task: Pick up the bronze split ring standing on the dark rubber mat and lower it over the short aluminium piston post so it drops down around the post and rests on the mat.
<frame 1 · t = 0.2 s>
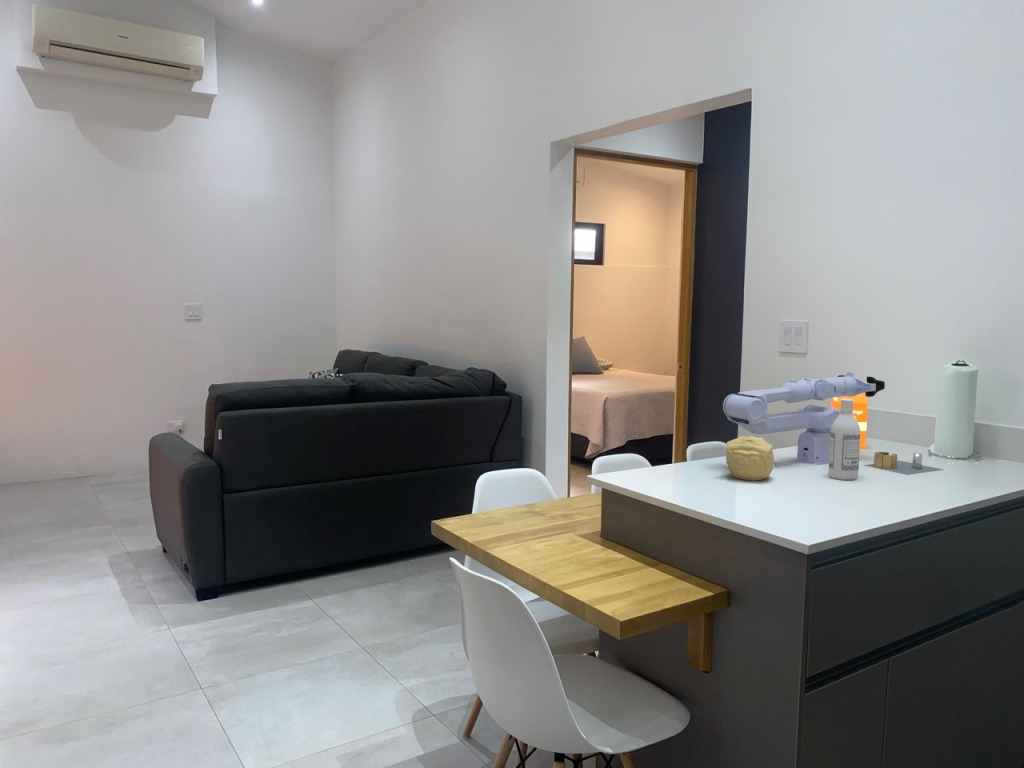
hand: (872, 384, 217), 21 cm above the worktop, tool horizontal, fingers open, 7 cm apart
mat: (903, 468, 202), on the worktop
bath foam: (842, 478, 191), on the worktop
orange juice: (846, 448, 233), on the worktop
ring: (885, 466, 202), resting on mat
piston post: (916, 469, 201), resting on mat
sculpture: (749, 478, 190), on the worktop
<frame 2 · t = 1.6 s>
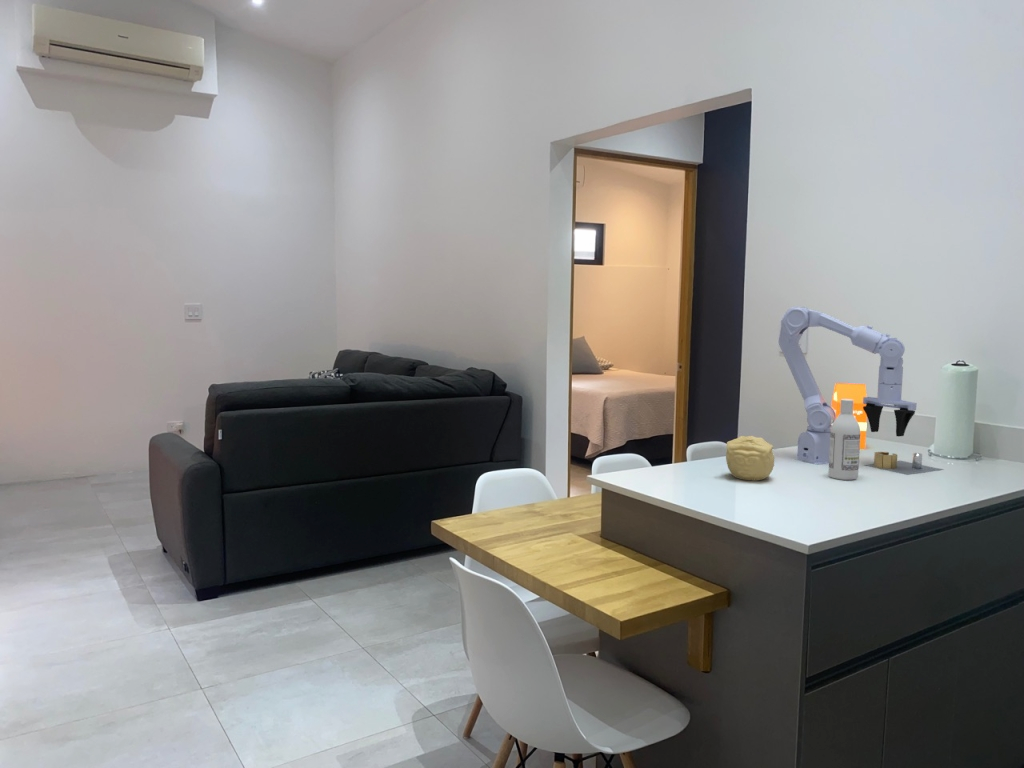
hand: (887, 433, 201), 9 cm above the worktop, tool pointing down, fingers open, 7 cm apart
nothing on the worktop moved.
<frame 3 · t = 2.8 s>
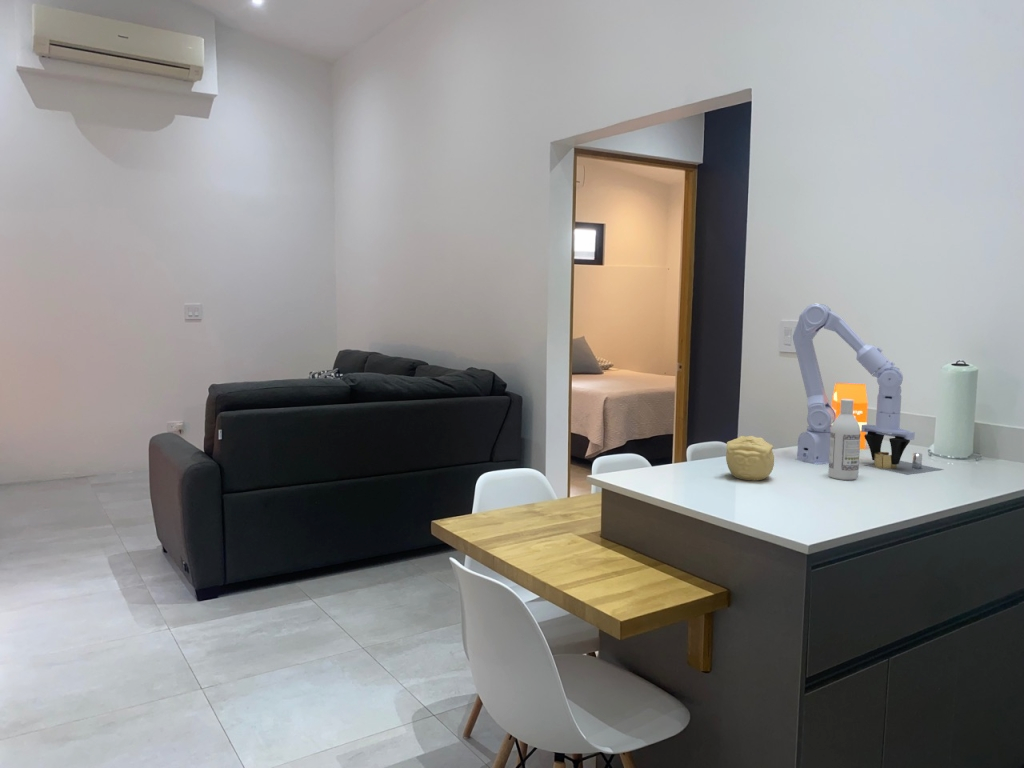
hand: (885, 462, 202), 2 cm above the worktop, tool pointing down, fingers closed on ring, 5 cm apart
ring: (885, 466, 202), resting on mat, touching gripper
everything else where it was.
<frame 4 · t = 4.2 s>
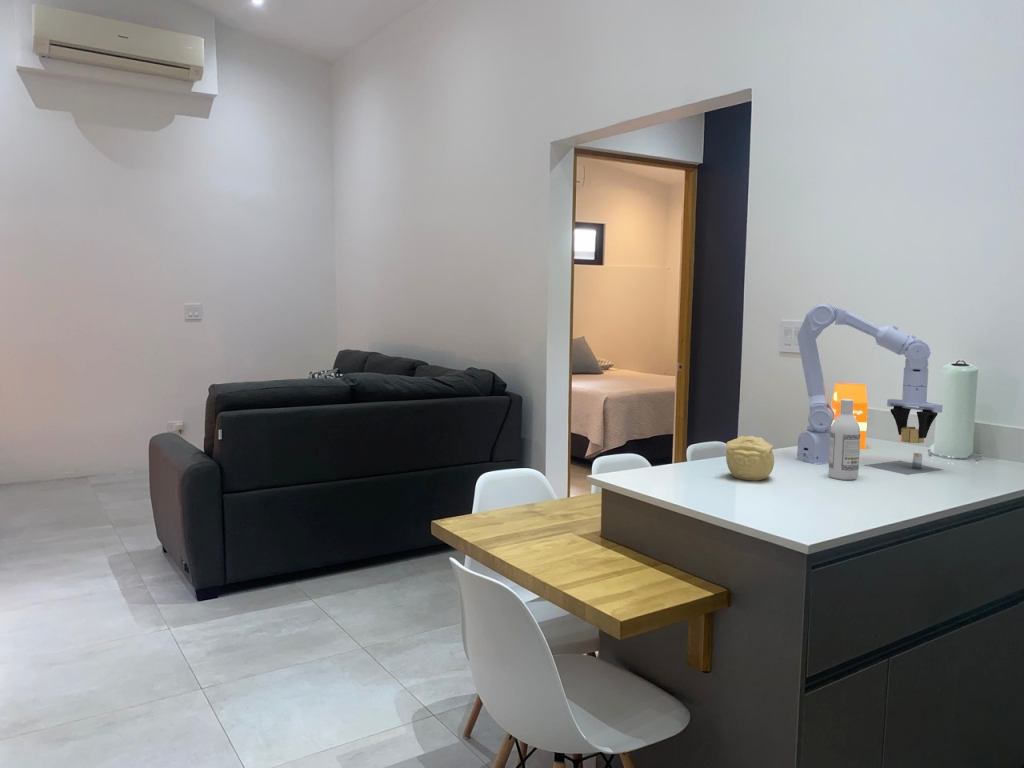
hand: (912, 436, 200), 9 cm above the worktop, tool pointing down, fingers closed on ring, 5 cm apart
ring: (912, 441, 200), point 8 cm above the worktop, touching gripper
everything else where it was.
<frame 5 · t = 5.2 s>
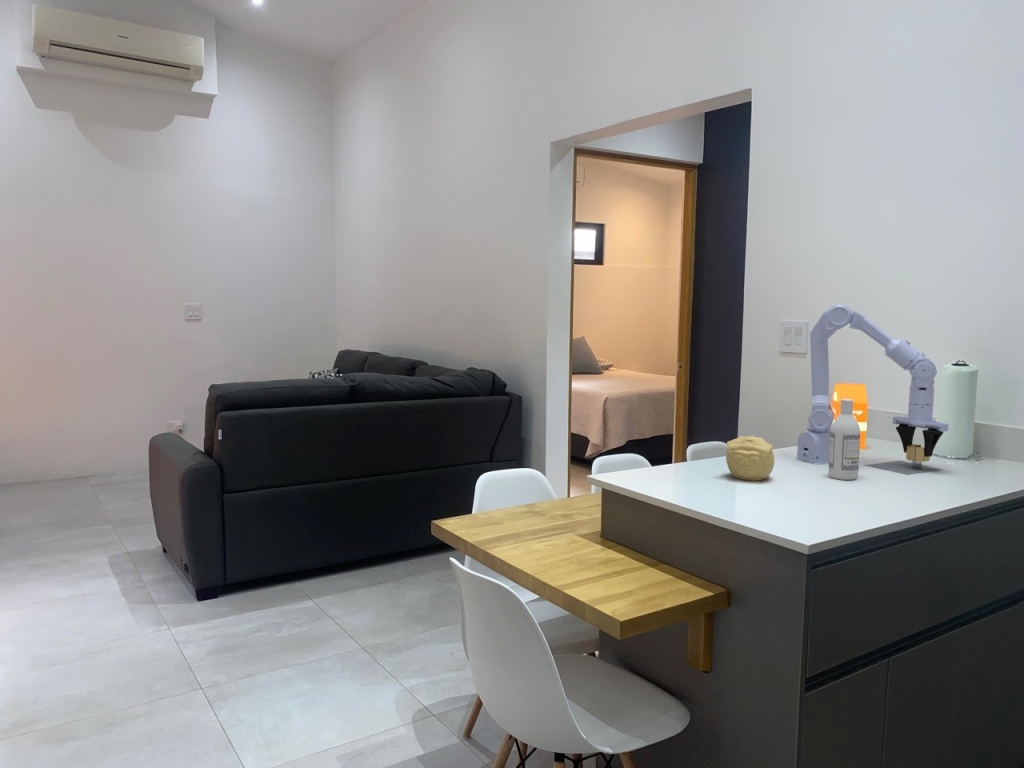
hand: (917, 454, 200), 4 cm above the worktop, tool pointing down, fingers closed on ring, 5 cm apart
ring: (917, 459, 200), point 3 cm above the worktop, touching gripper
everything else where it was.
when the fingers open (4 cm above the worktop, at t = 5.8 s): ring drops 2 cm, resting on mat.
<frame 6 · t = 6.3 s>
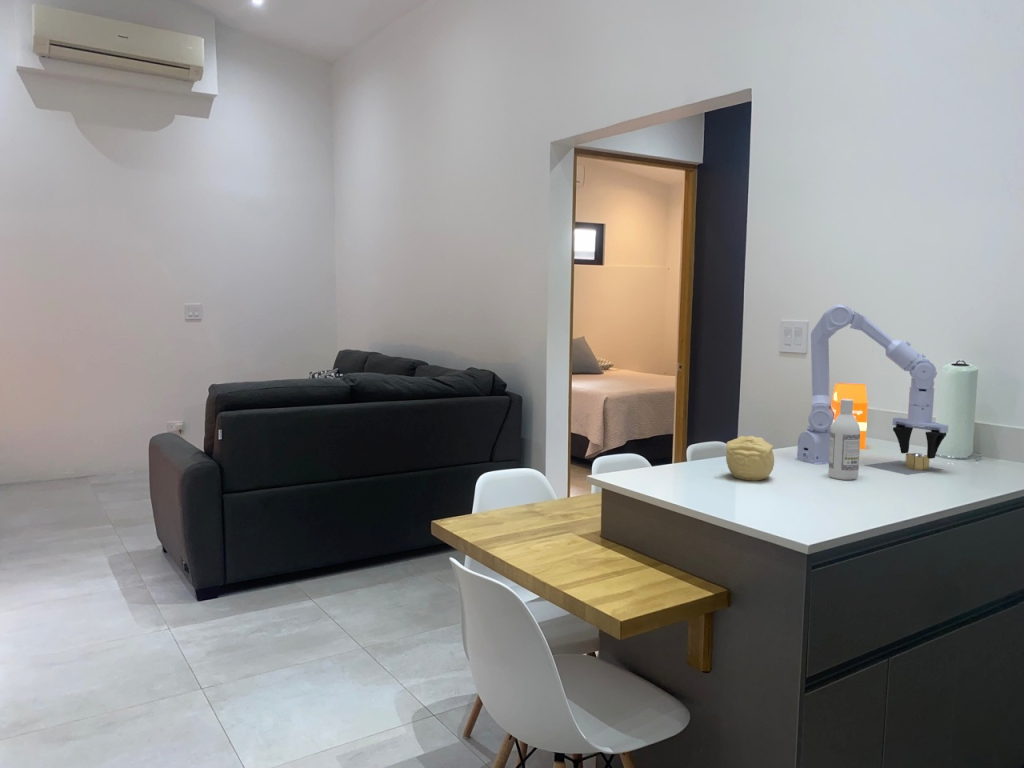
hand: (917, 455, 200), 4 cm above the worktop, tool pointing down, fingers open, 7 cm apart
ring: (916, 468, 201), resting on mat
everything else where it was.
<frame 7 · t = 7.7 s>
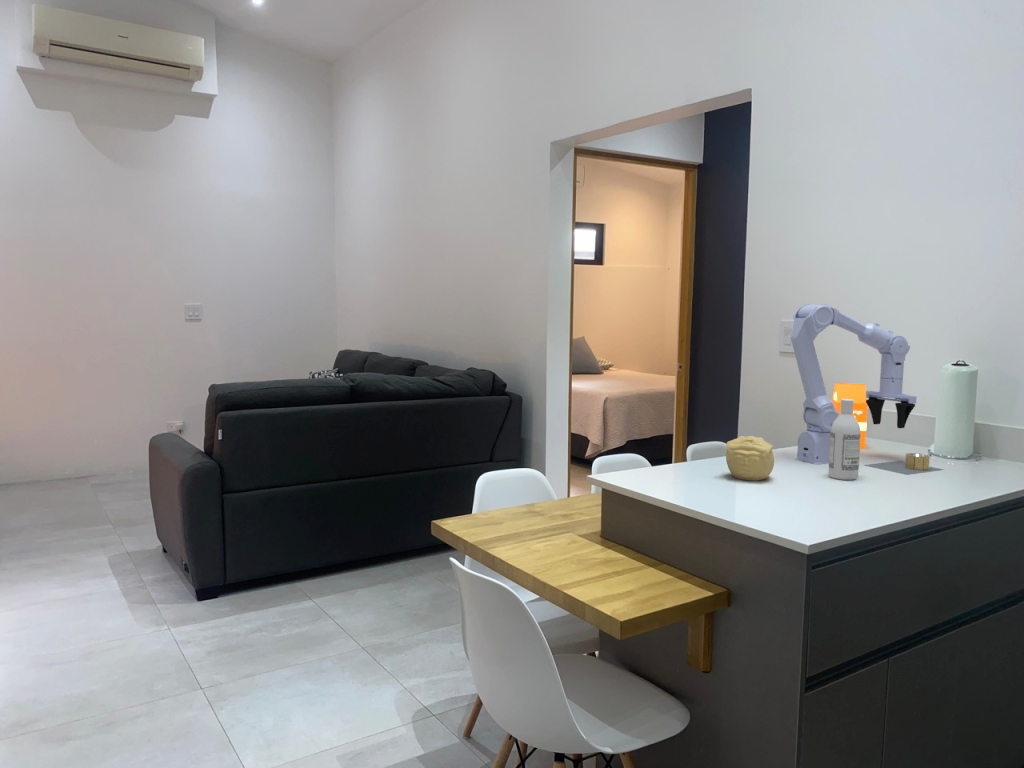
hand: (888, 426, 212), 10 cm above the worktop, tool pointing down, fingers open, 7 cm apart
nothing on the worktop moved.
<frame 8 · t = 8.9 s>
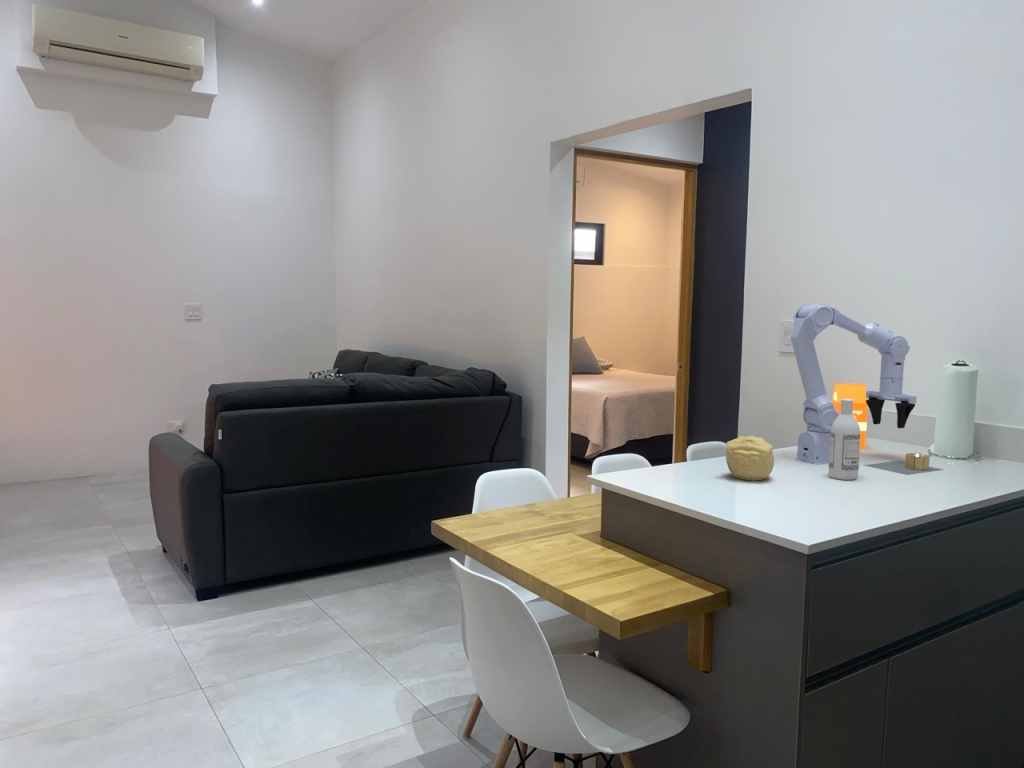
hand: (888, 426, 212), 10 cm above the worktop, tool pointing down, fingers open, 7 cm apart
nothing on the worktop moved.
at the end: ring 0.1 cm off-centre on the piston post, point 0.4 cm above the piston post's base; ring tilted 0°; the gripper is holding nothing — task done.
